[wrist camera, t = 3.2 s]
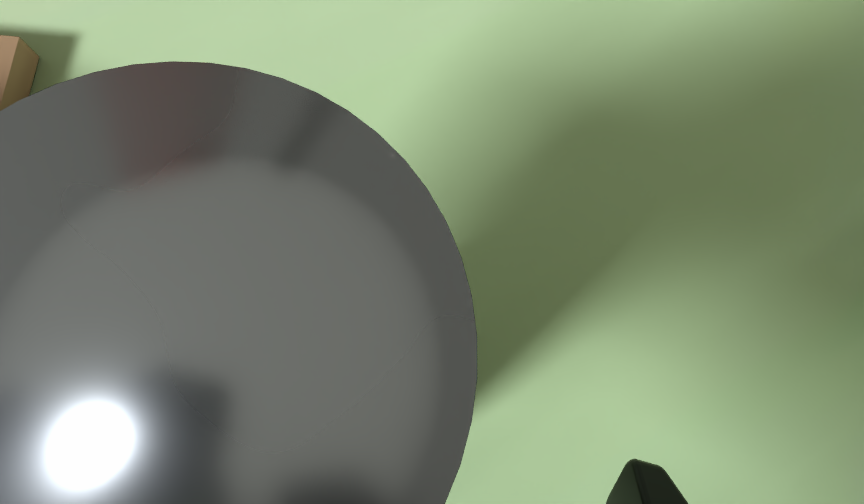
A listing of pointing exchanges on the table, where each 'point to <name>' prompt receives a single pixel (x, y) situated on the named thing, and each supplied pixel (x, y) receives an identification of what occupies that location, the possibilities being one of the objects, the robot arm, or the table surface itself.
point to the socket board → (15, 70)
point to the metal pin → (222, 299)
